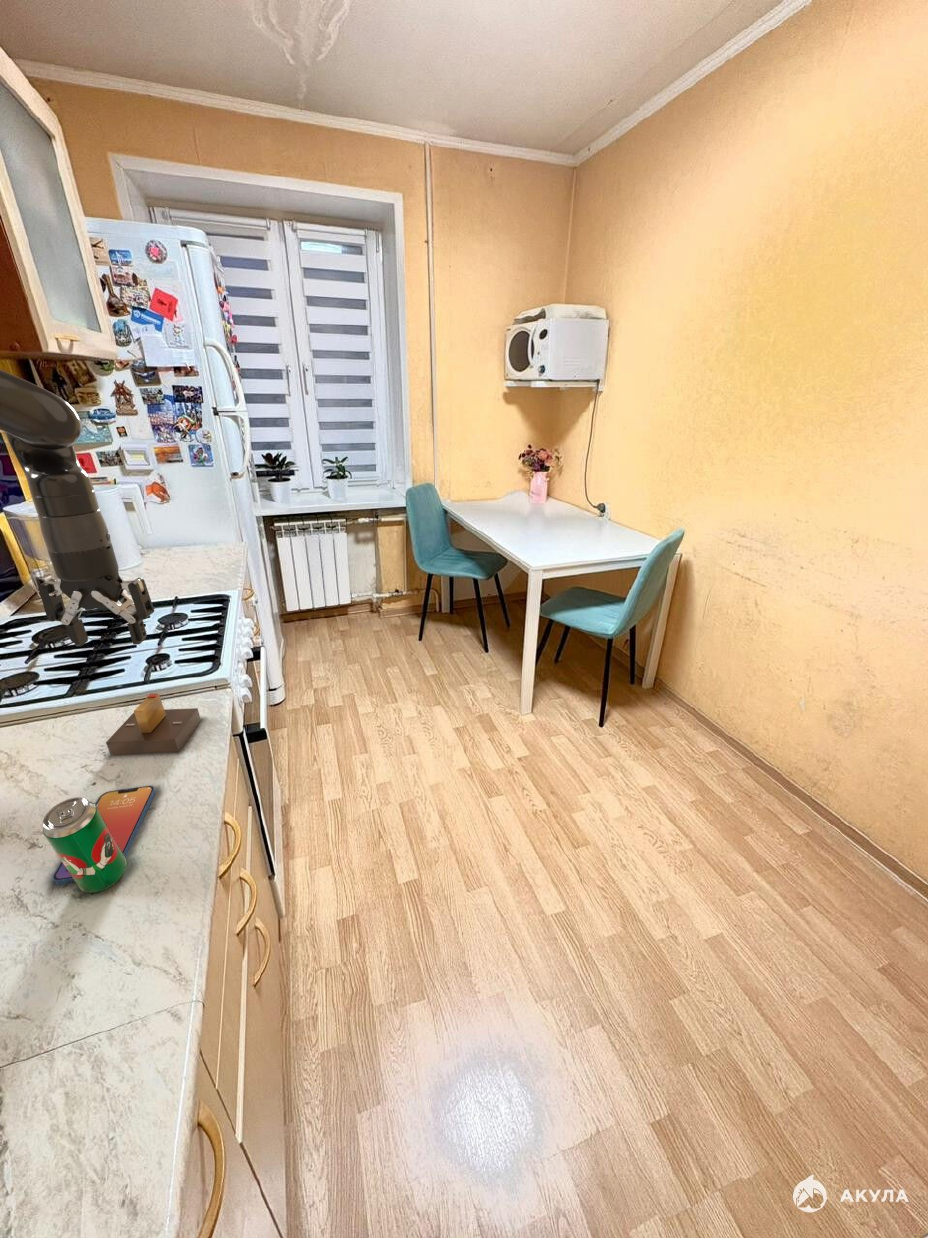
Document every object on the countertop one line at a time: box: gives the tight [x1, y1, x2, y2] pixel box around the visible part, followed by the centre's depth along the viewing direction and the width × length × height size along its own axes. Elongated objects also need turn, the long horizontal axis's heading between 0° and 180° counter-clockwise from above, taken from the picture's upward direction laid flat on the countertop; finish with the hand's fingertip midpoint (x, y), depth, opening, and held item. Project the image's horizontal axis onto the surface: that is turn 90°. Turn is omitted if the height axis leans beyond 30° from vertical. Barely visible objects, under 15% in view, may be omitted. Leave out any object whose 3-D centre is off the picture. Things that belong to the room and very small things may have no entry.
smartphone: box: [52, 785, 156, 885], centre depth 68 cm, size 7×15×1 cm, turn 12°
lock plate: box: [105, 707, 202, 756], centre depth 86 cm, size 11×9×3 cm
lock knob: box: [133, 693, 166, 733], centre depth 85 cm, size 5×2×5 cm, turn 1°
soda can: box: [42, 796, 128, 894], centre depth 59 cm, size 5×5×12 cm
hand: (111, 643), depth 78 cm, fingers open, 8 cm apart
